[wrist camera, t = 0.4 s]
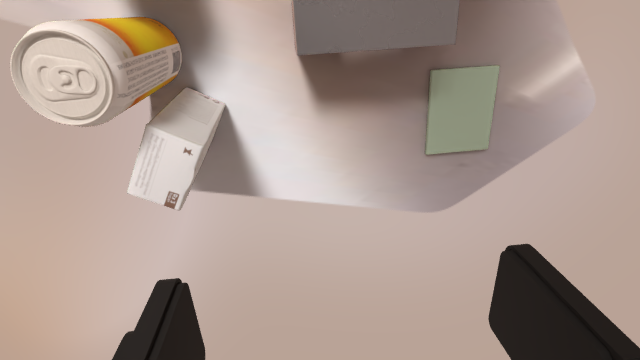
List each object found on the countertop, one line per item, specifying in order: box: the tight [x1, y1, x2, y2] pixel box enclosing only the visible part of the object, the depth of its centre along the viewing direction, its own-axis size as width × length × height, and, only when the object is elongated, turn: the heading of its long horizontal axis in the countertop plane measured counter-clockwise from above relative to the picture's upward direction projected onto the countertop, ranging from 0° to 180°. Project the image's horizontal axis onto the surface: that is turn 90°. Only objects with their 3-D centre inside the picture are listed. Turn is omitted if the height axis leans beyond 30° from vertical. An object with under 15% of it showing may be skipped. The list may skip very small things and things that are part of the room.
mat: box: [425, 65, 500, 155], centre depth 39 cm, size 9×7×1 cm
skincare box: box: [127, 87, 225, 210], centre depth 32 cm, size 6×4×12 cm
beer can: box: [10, 17, 182, 127], centre depth 27 cm, size 6×6×15 cm
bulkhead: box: [291, 0, 460, 55], centre depth 32 cm, size 4×13×6 cm, turn 93°
